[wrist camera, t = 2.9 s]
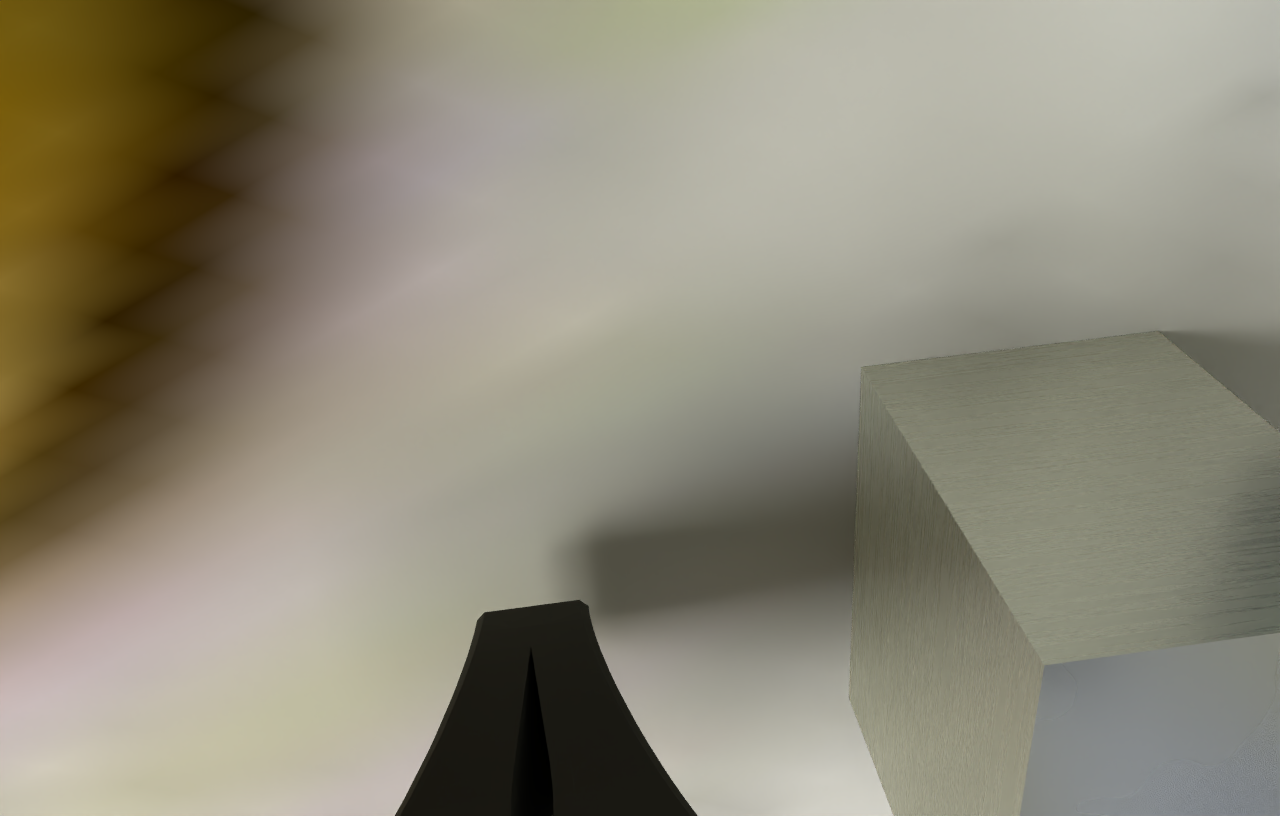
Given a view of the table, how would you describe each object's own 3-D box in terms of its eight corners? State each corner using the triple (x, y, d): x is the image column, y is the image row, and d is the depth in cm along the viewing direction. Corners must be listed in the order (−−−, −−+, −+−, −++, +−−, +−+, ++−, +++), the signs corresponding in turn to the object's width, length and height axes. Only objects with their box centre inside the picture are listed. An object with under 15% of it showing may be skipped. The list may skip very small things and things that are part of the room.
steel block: (1090, 660, 17) (1313, 994, 12) (847, 694, 17) (982, 1046, 12) (1155, 328, 14) (1484, 604, 9) (860, 364, 14) (1043, 665, 9)
